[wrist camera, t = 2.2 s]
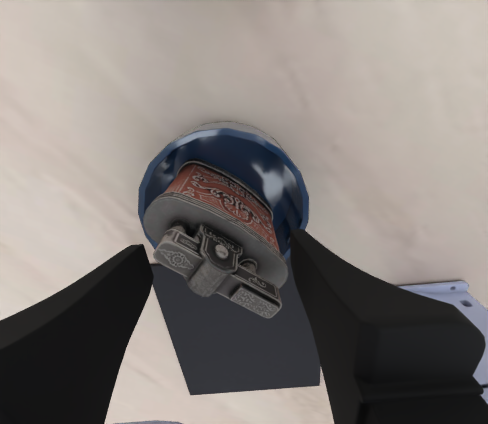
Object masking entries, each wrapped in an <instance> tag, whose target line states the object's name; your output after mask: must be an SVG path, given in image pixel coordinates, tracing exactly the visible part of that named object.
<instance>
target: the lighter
mask: <svg viewBox="0 0 488 424" xmlns="http://www.w3.org/2000/svg"><path fill="white" fill-rule="evenodd" d="M272 220H273V213H272V209H271V207H270V205H269V204H268V203H267V202H266V201H265V200H264V199H263V198H262V197H261V196H260V195H259V194H258V193H257V192H256V191H255V190H254V189H252V188H251V187H250V186H248V185H247V184H246V183H245V182H243V181H242V180H241V179H240V178H238V177H236V176H234V175H233V174H231V173H229V172H227V171H226V170H224V169H222V168H220V167H218V166H216V165H214V164H211V163H209V162H207V161H204V160H202V159H198V158H193V159H189V160H188V161H186V162H185V163H184V164H183V165H182V166H181V167H180V169H179V170H178V172H177V175H176V178H175V179H174V181H173V182H172V183H171V184H170V186H169V187H168V188H167V190H166V191H165V192H164V193H163V194H161V195H159V196H158V197H156V198H155V200H154V201H153V202H152V203H151V204H150V206H149V207H148V208H147V209H146V212H145V214H144V217H143V226H144V228H145V231H146V233H147V234H148V235H149V236H150V237H151V239H153V240H154V241H155V242H157V243H158V245H157V247H156V249H155V251H154V254H153V256H154V259H155V260H156V261H157V262H158V263H160V264H162V265H164V266H166V267H167V268H169V269H171V270H173V271H175V272H177V273H179V274H181V275H183V278H184V279H185V280H186V282H187V285H188V287H189V288H190V289H191V290H192V291H193V292H194V293H196V294H198V295H200V296H202V297H209V296H211V295H212V294H216V293H218V294H220V295H222V296H224V297H226V298H228V299H230V300H231V301H233V302H235V303H237V304H239V305H241V306H243V307H245V308H247V309H249V310H251V311H253V312H255V313H257V314H259V315H261V316H263V317H265V318H271V317H273V316H274V315H275V314H276V313H277V312H278V311H279V310H280V309H281V307H282V303H281V298H280V292H279V288H281V287H282V286H283V284H284V283H285V282H286V280H287V277H288V268H287V264H286V261H285V258H284V257H283V255H282V254H281V253H280V251H279V247H278V243H277V239H276V235H275V231H274V227H273V223H272Z"/></svg>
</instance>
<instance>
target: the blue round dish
mask: <svg viewBox="0 0 488 424" xmlns="http://www.w3.org/2000/svg"><path fill="white" fill-rule="evenodd" d="M193 158H198V159H202V160H204V161H207V162H209V163H211V164H214V165H216V166H218V167H220V168H222V169H224V170H226V171H227V172H229V173H231V174H233V175H234V176H236V177H238V178H240V179H241V180H242V181H243V182H245V183H246V184H247V185H248V186H250V187H251V188H252V189H254V190H255V191H256V192H257V193H258V194H259V195H260V196H261V197H262V198H263V199H264V200H265V201H266V202H267V203H268V204H269V205H270V207H271V209H272V213H273V220H272V223H273V227H274V231H275V235H276V239H277V243H278V247H279V251H280V253H281V254H282V255H283V257H284V258H285V261H286V260H287V258H288V257H289V256H290V230H296V229H303V230H305V228H306V226H307V223H308V217H309V195H308V193H307V190H306V187H305V184H304V181H303V178H302V175H301V173H300V171H299V170H298V168H297V167H296V166H295V164H294V163H293V162H292V161H291V159H290V158H289V157H288V155H287V154H286V153H285V152H284V151H283V149H282V148H281V147H280V146H279V144H278V143H277V142H276V141H275V140H274V139H273V138H271V137H270V136H268V135H267V134H265V133H264V132H262V131H260V130H258V129H257V128H255V127H253V126H249V125H245V124H241V123H237V122H231V121H225V122H214V123H207V124H203V125H201V126H199V127H196V128H194V129H192V130H190V131H188V132H186V133H184V134H182V135H181V136H179V137H178V138H177V139H175V140H174V141H172V142H171V143H169V144H168V145H167V146H166V147H165V148H164V149H163V150H162V151H161V152H160V153H159V154H158V155H157V156H156V157H155V158H154V159H153V161H152V162H151V163H150V164H149V165H148V168H147V170H146V173H145V175H144V177H143V180H142V182H141V184H140V187H139V200H138V215H139V218H140V221H141V224H142V227H143V230H144V233H145V236H146V238H147V239H148V240H149V242H150V243H151V245H152V246H153V247H154V249H156V247H157V245H158V243H157V242H155V241H154V240H153V239H151V237H150V236H149V235H148V234H147V233H146V231H145V228H144V226H143V217H144V214H145V212H146V209H147V208H148V207H149V206H150V204H151V203H152V202H153V201H154V200H155V198H156V197H158V196H159V195H161V194H163V193H164V192H165V191H166V190H167V188H168V187H169V186H170V184H171V183H172V182H173V181H174V179H175V178H176V175H177V172H178V170H179V169H180V167H181V166H182V165H183V164H184V163H185V162H186V161H188V160H189V159H193Z"/></svg>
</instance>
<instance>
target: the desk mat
mask: <svg viewBox="0 0 488 424" xmlns="http://www.w3.org/2000/svg"><path fill="white" fill-rule="evenodd" d="M286 264H287V268H288V277H287V280H286V282H285V283H284V284H283V286H282V287H281V288H279V292H280V298H281V303H282V307H281V309H280V310H279V311H278V312H277V313H276V314H275V315H274V316H273V317H271V318H265V317H263V316H261V315H259V314H257V313H255V312H253V311H251V310H249V309H247V308H245V307H243V306H241V305H239V304H237V303H235V302H233V301H231V300H230V299H228V298H226V297H224V296H222V295H220V294H218V293H216V294H212V295H211V296H209V297H202V296H200V295H198V294H196V293H194V292H193V291H192V290H191V289H190V288H189V287H188V285H187V282H186V280H185V279H184V278H183V275H181V274H179V273H177V272H175V271H173V270H171V269H169V268H167V267H166V266H164V265H162V264H150V266H151V269H152V272H153V275H154V279H153V283H152V284H153V287H154V290H155V293H156V296H157V299H158V302H159V305H160V307H161V310H162V313H163V316H164V319H165V322H166V325H167V328H168V331H169V334H170V337H171V340H172V343H173V346H174V348H175V351H176V354H177V357H178V360H179V363H180V366H181V369H182V372H183V375H184V378H185V381H186V384H187V387H188V389H189V392H190V395H201V394H214V393H227V392H241V391H254V390H268V389H281V388H294V387H308V386H319V384H320V366H321V363H320V359H319V355H318V351H317V347H316V344H315V340H314V336H313V332H312V329H311V326H310V323H309V320H308V317H307V315H306V312H305V309H304V306H303V304H302V301H301V298H300V295H299V293H298V290H297V287H296V284H295V281H294V277H293V273H292V268H291V257H290V256H289V257H288V258H287V260H286Z"/></svg>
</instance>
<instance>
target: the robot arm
mask: <svg viewBox="0 0 488 424" xmlns="http://www.w3.org/2000/svg"><path fill="white" fill-rule="evenodd" d="M290 257H291V268H292V273H293V277H294V281H295V284H296V287H297V290H298V293H299V295H300V298H301V301H302V304H303V306H304V309H305V312H306V315H307V317H308V320H309V323H310V326H311V329H312V332H313V336H314V340H315V344H316V347H317V351H318V355H319V359H320V363H321V367H322V371H323V376H324V380H325V384H326V388H327V393H328V397H329V401H330V405H331V410H332V414H333V419H334V423H335V424H488V310H487V309H486V308H485V307H484V306H483V305H481V304H480V303H479V302H478V301H477V300H476V299H475V298H473V297H472V296H471V295H470V294H469V293H468V292H467V290H468V287H469V285H468V283H466V282H465V281H455V282H443V283H432V284H420V285H408V286H395V285H392V284H390V283H387V282H385V281H383V280H381V279H378V278H376V277H374V276H372V275H370V274H368V273H366V272H364V271H362V270H360V269H358V268H356V267H355V266H353V265H351V264H349V263H348V262H346V261H344V260H343V259H341V258H340V257H338V256H337V255H335V254H334V253H332V252H331V251H330V250H328V249H327V248H326V247H324V246H323V245H322V244H320V243H319V242H318V241H317V240H315V239H314V238H313V237H312V236H311V235H309V234H308V233H307V232H306V231H305V230H303V229H296V230H290ZM153 279H154V275H153V272H152V269H151V266H150V263H149V260H148V257H147V254H146V251H145V248H144V245H143V244H139V245H131V246H129V247H127V248H125V249H124V250H122V251H121V252H119V253H118V254H116V255H115V256H113V257H112V258H110V259H109V260H107V261H106V262H105V263H103V264H102V265H100V266H99V267H97V268H96V269H94V270H93V271H91V272H90V273H88V274H87V275H85V276H84V277H82V278H81V279H79V280H77V281H76V282H74V283H73V284H71V285H70V286H68V287H66V288H64V289H63V290H61V291H59V292H57V293H56V294H54V295H52V296H50V297H48V298H47V299H45V300H43V301H41V302H39V303H37V304H35V305H33V306H31V307H29V308H27V309H24V310H22V311H20V312H18V313H16V314H14V315H12V316H10V317H7V318H5V319H3V320H1V321H0V424H104V422H105V419H106V415H107V411H108V407H109V403H110V400H111V396H112V392H113V389H114V386H115V382H116V379H117V375H118V372H119V369H120V366H121V363H122V360H123V356H124V353H125V350H126V347H127V345H128V342H129V340H130V337H131V335H132V333H133V331H134V328H135V326H136V324H137V322H138V319H139V317H140V315H141V313H142V310H143V308H144V306H145V303H146V301H147V299H148V296H149V293H150V290H151V287H152V283H153ZM115 424H182V423H179V422H171V421H142V422H129V423H115Z"/></svg>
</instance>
